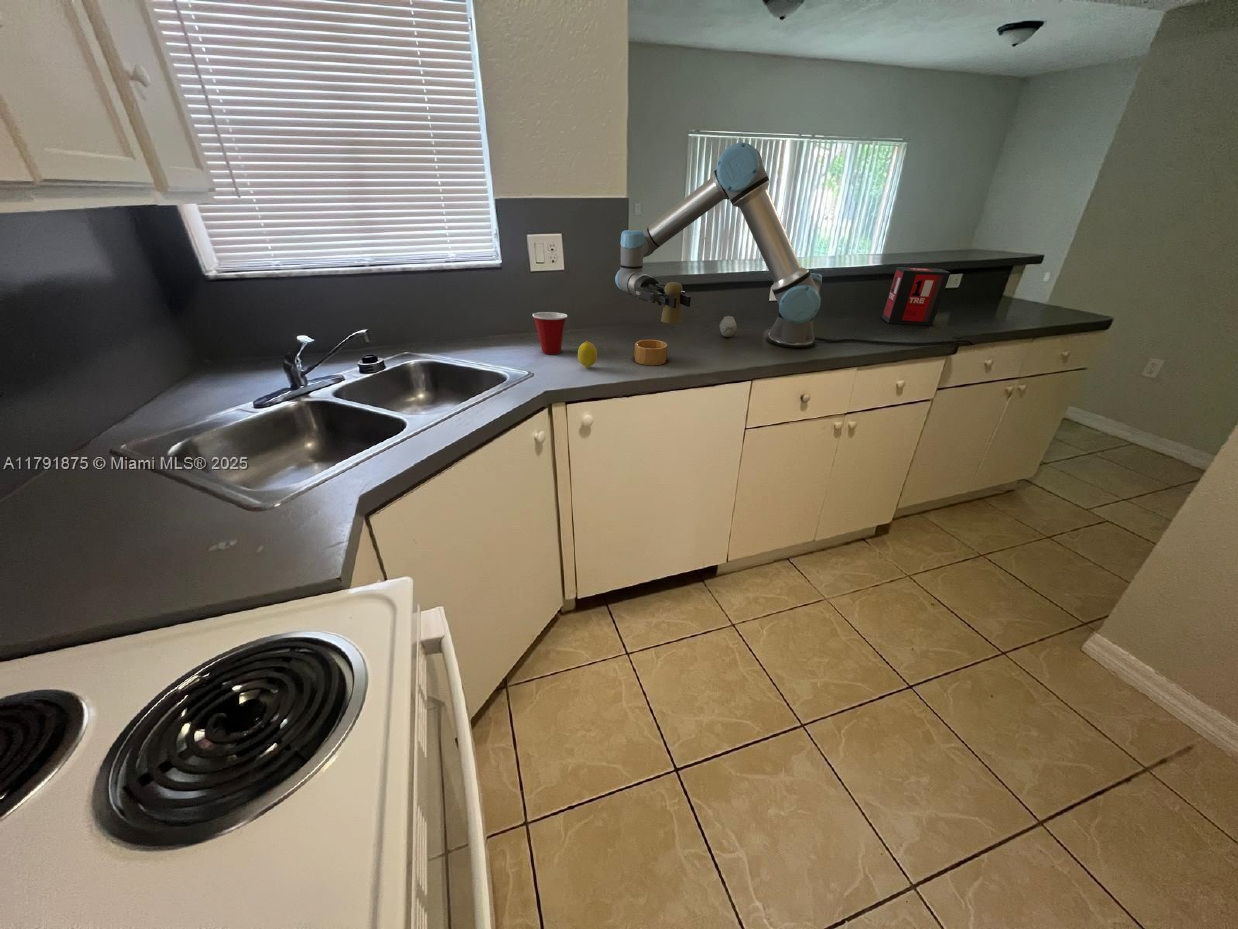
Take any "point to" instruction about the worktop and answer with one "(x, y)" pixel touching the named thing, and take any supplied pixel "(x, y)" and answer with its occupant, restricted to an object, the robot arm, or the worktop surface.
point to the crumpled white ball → (728, 326)
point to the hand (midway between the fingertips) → (682, 302)
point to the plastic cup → (550, 330)
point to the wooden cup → (650, 352)
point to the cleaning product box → (915, 295)
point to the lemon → (587, 354)
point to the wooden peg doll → (668, 312)
